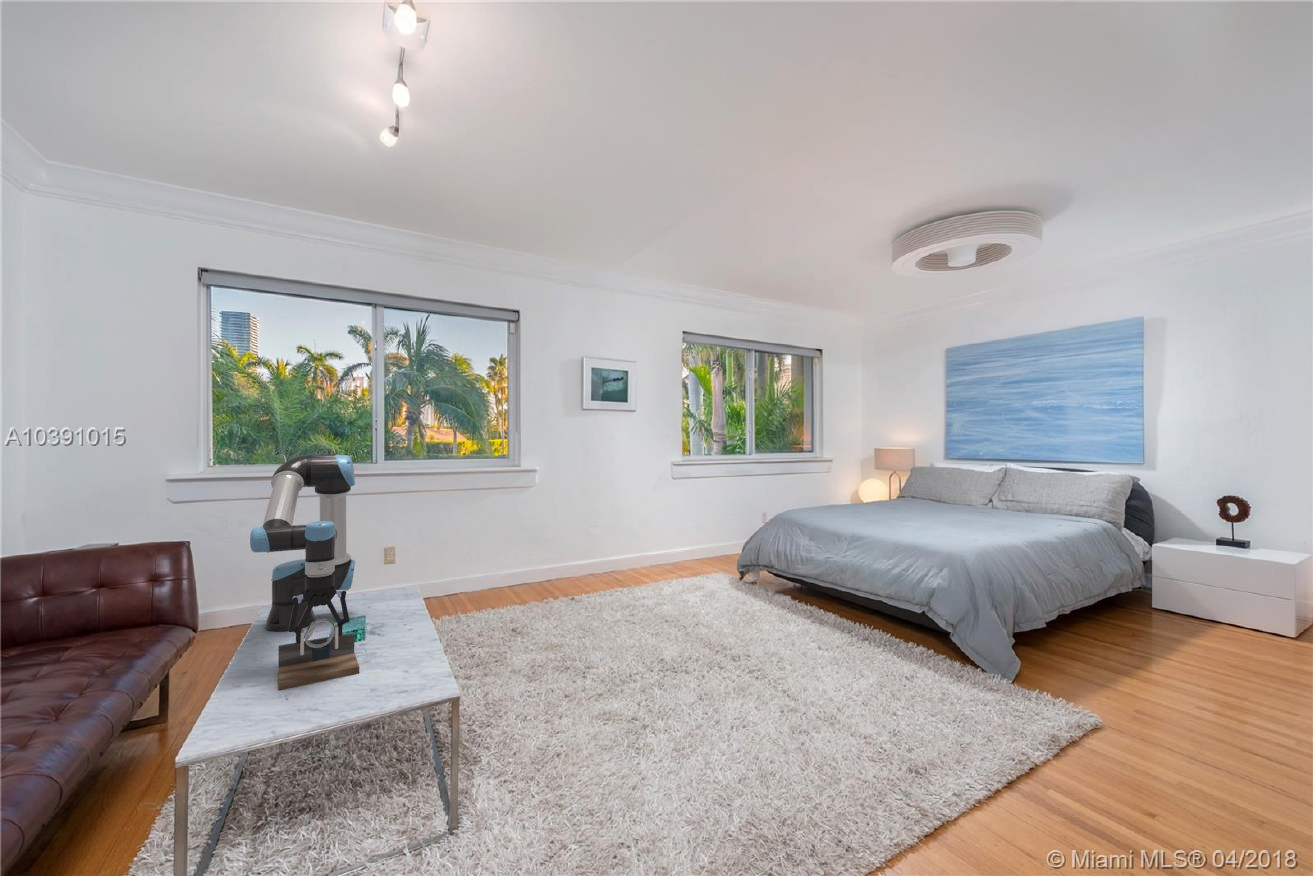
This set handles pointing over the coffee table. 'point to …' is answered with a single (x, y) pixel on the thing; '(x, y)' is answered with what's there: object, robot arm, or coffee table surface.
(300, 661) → the display stand
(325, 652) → the watch
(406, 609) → the coffee table surface
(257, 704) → the coffee table surface
